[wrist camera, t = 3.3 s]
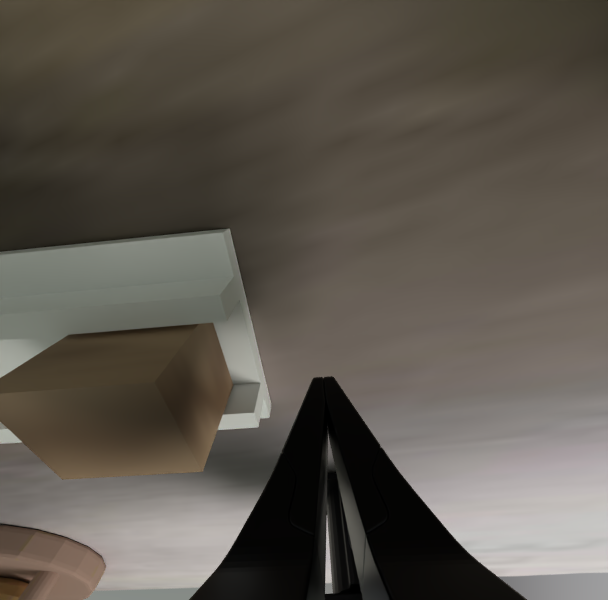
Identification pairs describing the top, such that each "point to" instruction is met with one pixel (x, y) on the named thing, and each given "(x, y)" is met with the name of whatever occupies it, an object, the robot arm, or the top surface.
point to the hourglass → (46, 566)
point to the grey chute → (133, 303)
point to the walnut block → (121, 401)
